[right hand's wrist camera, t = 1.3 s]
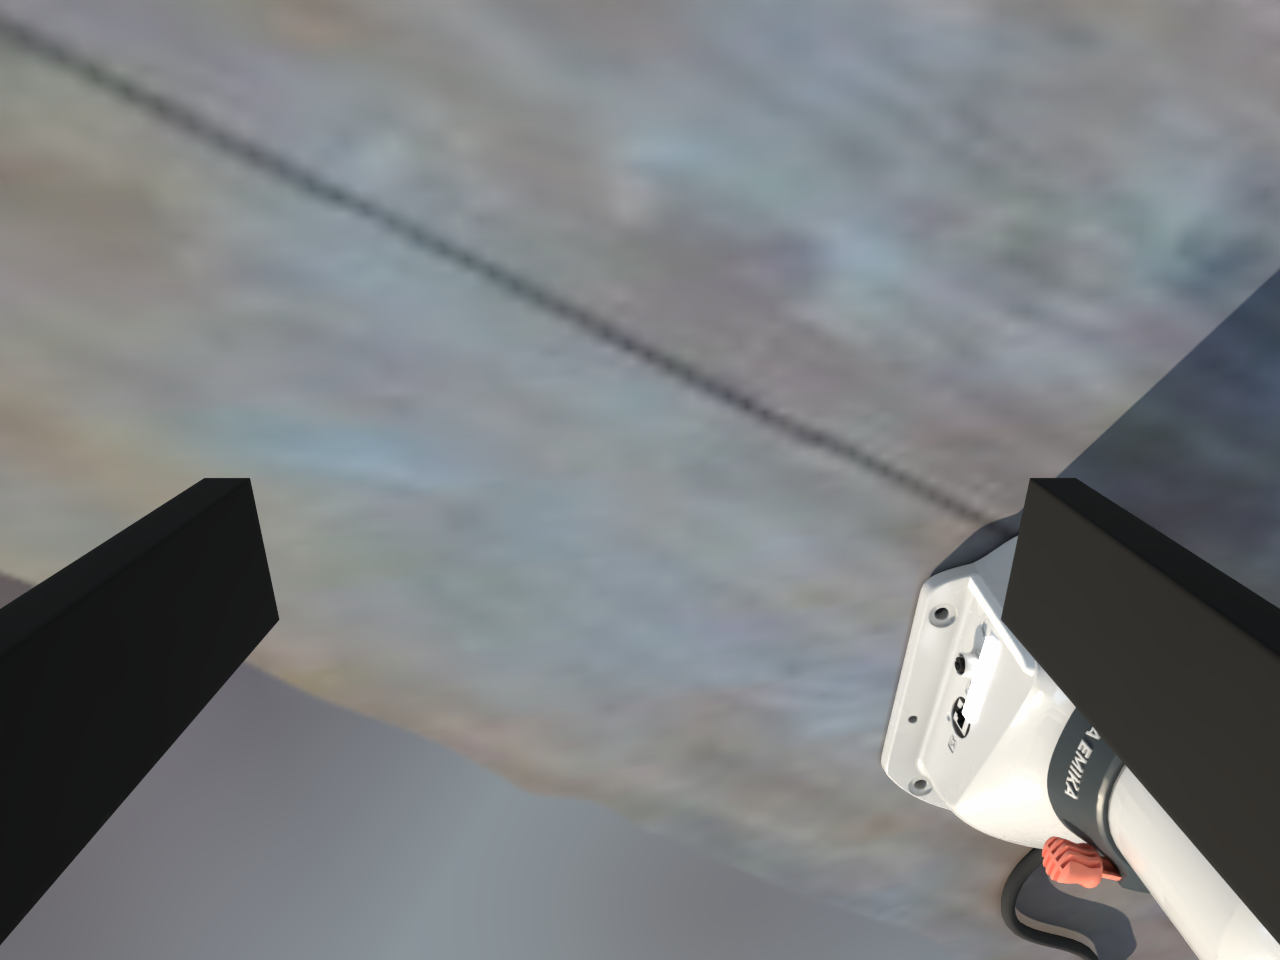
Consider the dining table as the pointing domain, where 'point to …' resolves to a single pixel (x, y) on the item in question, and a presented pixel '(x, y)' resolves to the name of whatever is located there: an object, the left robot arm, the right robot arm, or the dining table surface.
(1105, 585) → the right robot arm
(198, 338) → the dining table surface
